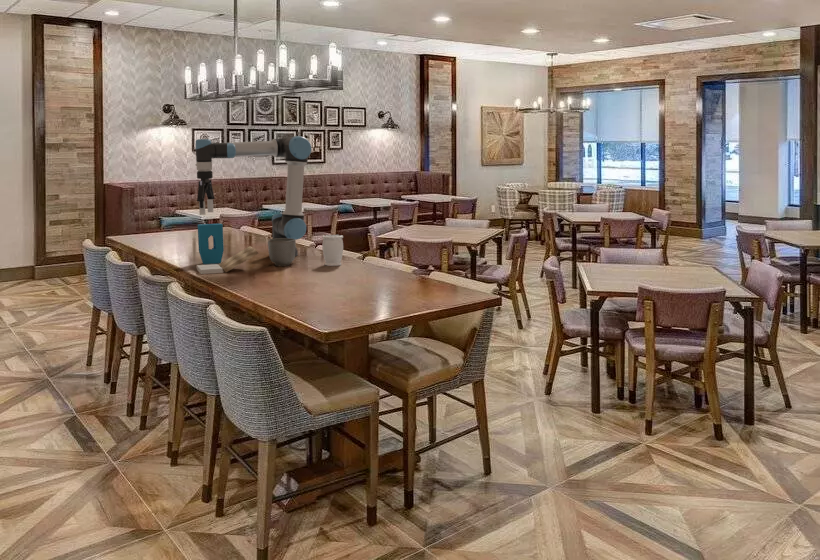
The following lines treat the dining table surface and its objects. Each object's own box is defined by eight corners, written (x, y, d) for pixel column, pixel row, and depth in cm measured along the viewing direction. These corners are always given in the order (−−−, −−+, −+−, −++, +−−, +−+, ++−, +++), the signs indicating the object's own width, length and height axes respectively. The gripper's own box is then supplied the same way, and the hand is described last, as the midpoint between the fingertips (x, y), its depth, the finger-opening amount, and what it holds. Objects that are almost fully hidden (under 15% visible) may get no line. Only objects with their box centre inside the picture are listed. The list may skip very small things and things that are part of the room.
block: (201, 264, 389) (199, 225, 386) (198, 263, 394) (197, 224, 390) (224, 263, 395) (223, 224, 391) (222, 261, 399) (220, 223, 396)
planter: (273, 268, 379) (272, 242, 377) (265, 264, 391) (264, 239, 389) (300, 266, 386) (299, 240, 383) (291, 262, 398) (290, 237, 395)
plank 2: (255, 251, 376) (253, 247, 375) (258, 253, 370) (256, 249, 369) (223, 270, 371) (221, 266, 370) (225, 272, 365) (223, 268, 365)
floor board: (218, 268, 379) (218, 263, 378) (224, 272, 365) (223, 268, 365) (196, 269, 374) (196, 265, 374) (201, 274, 361) (201, 269, 360)
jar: (346, 264, 393) (346, 235, 390) (338, 267, 383) (337, 237, 381) (327, 262, 396) (327, 234, 394) (319, 265, 387) (318, 236, 384)
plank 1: (252, 249, 384) (249, 245, 383) (254, 251, 378) (252, 247, 377) (220, 267, 379) (218, 264, 378) (222, 269, 373) (220, 266, 372)
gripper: (204, 169, 392) (206, 211, 396) (189, 171, 368) (191, 215, 372) (219, 169, 392) (220, 211, 396) (204, 171, 368) (206, 215, 371)
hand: (206, 213), depth 384 cm, fingers open, 13 cm apart
